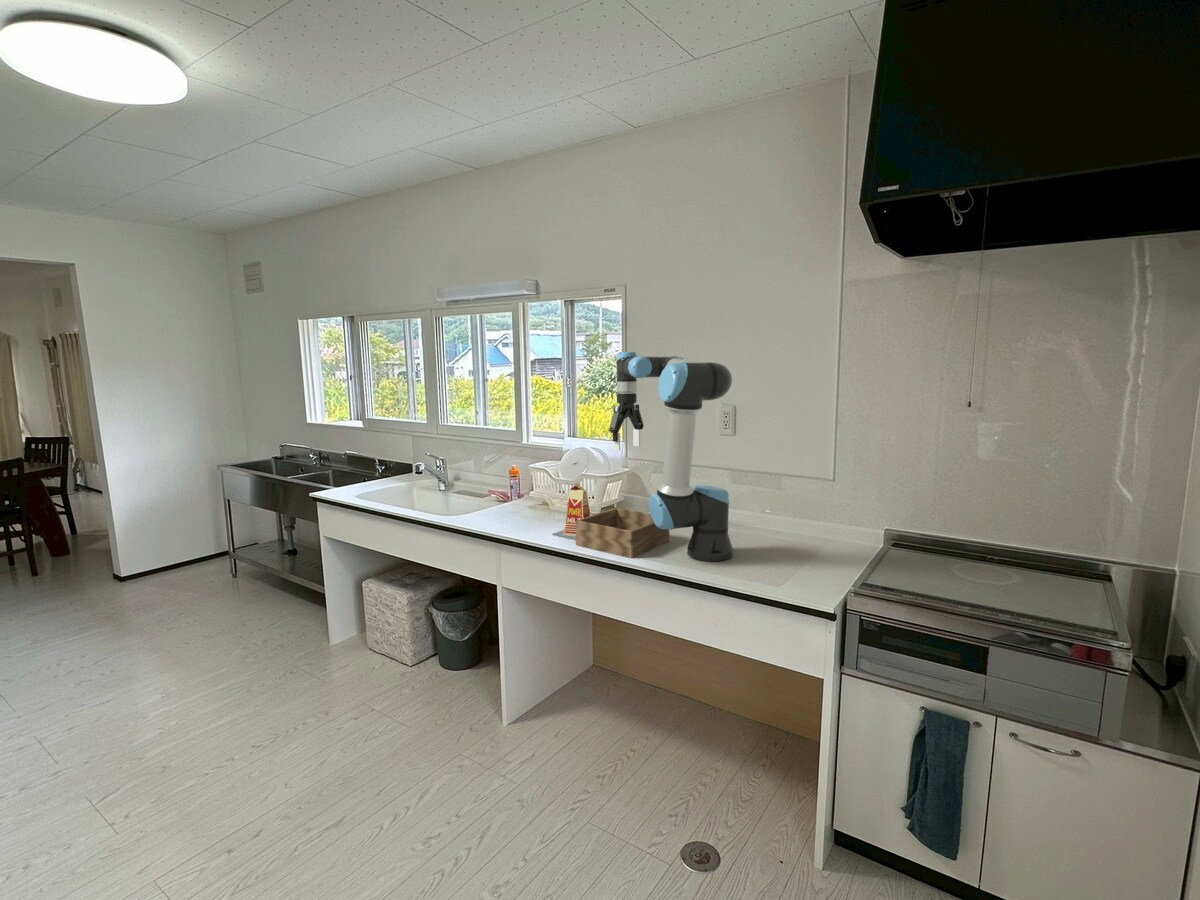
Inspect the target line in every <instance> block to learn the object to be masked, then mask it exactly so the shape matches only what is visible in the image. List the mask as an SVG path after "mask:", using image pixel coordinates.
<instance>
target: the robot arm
mask: <svg viewBox="0 0 1200 900" xmlns="http://www.w3.org/2000/svg"><path fill="white" fill-rule="evenodd" d="M615 363H616V392H617V394H616V402H617V404H619V406H615V405H614V406H613V413H612V416H611V419H610V424H609V427H608V432H610V433H611V434H612V450H614V451H621V433H620V430H621V427H622V426H623V423H624V421H625V419H627V418H629V421H630V423H631V424H632V426H633V428H634V429H632V435H633V436H632V437H633V438H632V439H633V440H632V446H633V447H640V446H641V430H643V429H644V425H645V424H644V421H643V417H642V415H641V411H640V405H639V404H636V403H637V401H638V400H637V399H638V398H637V397H638V396H637V393H636V392H637V391H638V390H637V389H638V388H637V387H638V385H637V384H638V382H637V379H644V378H658V385H657V389H658V396H659V399H660V400H661V401H663V402H664V404H663V405H664V407H665V408H666V409H667V411H668V416H667V424H666V425H667V427H666V436H665V437H666V438H665V449H664V451H665V452H664V461H663V463H664V464H663V472H662V473H663V474H662V475H663V476H662V482H661V483H660V484H658V485H657V488H656V493H653V494H652V495H650V497H649V501H648V502H649V503H648V505H649V506H648V507H649V514H651V517H652V519H653V521H654V523H655V525H656V526H657V527H658V528H660V529H669V530H670V531H673V530H676V529H683V528H684V529H685V528H692V533H691V535H690V538H689V541H688V545H687V548H686V549H687V552H686V553H687V555H688V557H689V558H692V559H694V560H698V561H705V562H723V561H726V560H727V561H728V560H730V559H732V558H733V557H734V548H733V546H732V541H731V537H730V535H729V511H730V510H729V509H730V507H729V505H730V500H729V498H730V496H729V492H728V491H727V489H724V488H721V487H718V486H713V485H704V484H697V485H694V486H693V487H692V486H691V485H690V481H691V473H692V472H691V471H692V463H693V462H692V461H693V452H694V443H695V442H694V441H695V432H696V431H695V429H696V422H697V421H696V420H697V413H698V412H699V411H700V410H702V409H703V402H704V401H714V400H717V399H721V398H722V397H724V396H725V395H726V394H727V393H728V392H729V391H730V388H731V386H732V383H733V378H732V373H731V371H730V370H729V369H728V368H727V366H726V365H723V364H721V363H717V362H711V361H710V362H697V361H696V362H695V361H690V360H686V359H684V358H683V357H681V356H677V355H675V356H673V355H672V356H639V355H637V353H636V352H635V351H619V352H617V354H616V361H615Z"/></svg>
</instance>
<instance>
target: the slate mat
mask: <svg viewBox="0 0 1200 900" xmlns="http://www.w3.org/2000/svg"><path fill="white" fill-rule="evenodd" d="M563 533H564V529H562V530H559V531H557V532H554V533H551V535H552V536H556V537H560V538H564V539H569V540H573V539H574V540H573V541H576V536H567V535H563Z"/></svg>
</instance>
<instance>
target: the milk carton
mask: <svg viewBox="0 0 1200 900" xmlns="http://www.w3.org/2000/svg"><path fill="white" fill-rule="evenodd" d="M568 493H569V494H568V497H567V502H566V516H565V522H564V529H563V530H564V533H563V535H567V536H576V521H577V520H580V519H583V518H586V517H589V516H591V511H590V504H589V498H588V493H587V490H586V489H585V488H583V487H582V486H581V483H580V482H574V485H573V487H571V488H570V489H569V492H568Z"/></svg>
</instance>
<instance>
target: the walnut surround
mask: <svg viewBox="0 0 1200 900" xmlns="http://www.w3.org/2000/svg"><path fill="white" fill-rule="evenodd" d="M667 543H670V529H660V528H658V527H657V526H656V525H655V523H654V521H653V519H652V517H651V513H648V512H641V511H636V510H630V509H626V508H625V509H624V508H618V507H615V508H611V509H608V510H606V511H605V510H604V511H601V512H599V513H596V514H593V515H590V516H589V517H586V518H583V519H580V520H577V521H576V540H575V546H576V545H578V546H577V547H580V546H582V547H581V548H585V547H586V548H587V549H589V548H590V550H593V549H595V550H594V551H597V552H603V553H606V552H607V554H612V555H615V554H616V556H619V555H620V556H619V557H624V556H625V557H624V558H628V557H629V559H633V558H636V557H637V556H640V555H642V554H644V553H646V552H648V551H651V550H653V549H655V548H658V547H660V546H663V545H664V544H667Z"/></svg>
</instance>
